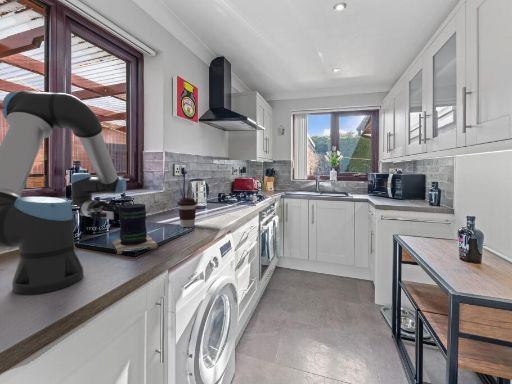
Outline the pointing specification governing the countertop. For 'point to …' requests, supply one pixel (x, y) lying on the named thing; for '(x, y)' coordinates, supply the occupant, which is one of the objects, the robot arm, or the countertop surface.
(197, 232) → the countertop surface
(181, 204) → the coffee cup
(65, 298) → the countertop surface
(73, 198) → the robot arm
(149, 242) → the birch board
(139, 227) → the storage jar
